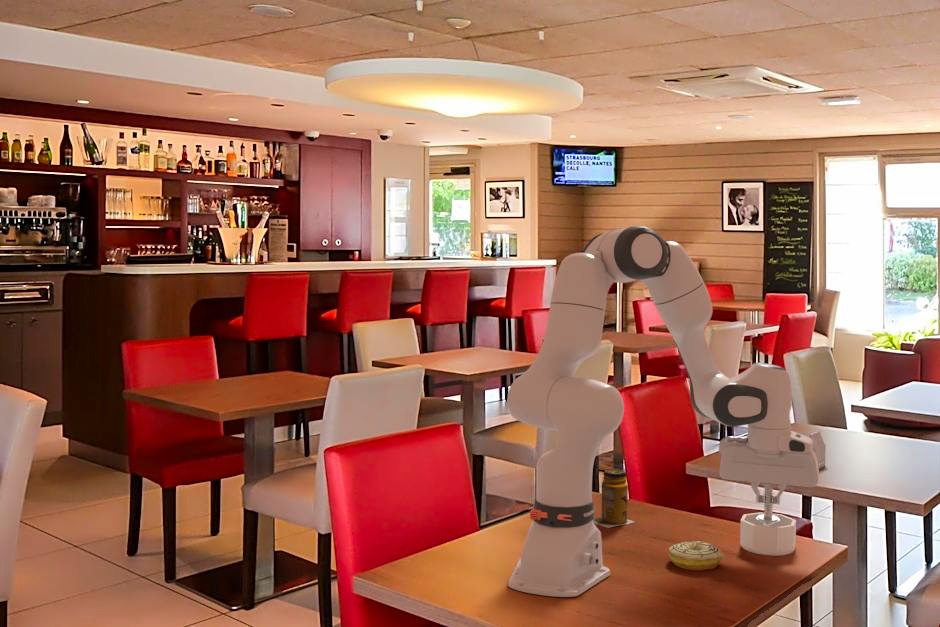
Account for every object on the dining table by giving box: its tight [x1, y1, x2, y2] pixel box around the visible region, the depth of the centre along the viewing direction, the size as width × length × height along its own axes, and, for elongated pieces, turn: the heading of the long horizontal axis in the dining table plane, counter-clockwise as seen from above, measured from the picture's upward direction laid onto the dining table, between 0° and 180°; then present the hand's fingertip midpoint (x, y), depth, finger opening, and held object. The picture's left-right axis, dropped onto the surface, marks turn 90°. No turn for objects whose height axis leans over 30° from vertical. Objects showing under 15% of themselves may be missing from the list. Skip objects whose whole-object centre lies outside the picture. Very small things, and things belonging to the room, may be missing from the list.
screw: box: [756, 483, 780, 527], centre depth 205 cm, size 13×5×5 cm
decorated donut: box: [668, 540, 724, 572], centre depth 195 cm, size 10×11×4 cm
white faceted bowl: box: [739, 511, 797, 557], centre depth 205 cm, size 11×11×6 cm
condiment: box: [593, 468, 635, 529], centre depth 225 cm, size 7×8×12 cm
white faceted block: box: [808, 430, 826, 469], centre depth 278 cm, size 4×7×10 cm, turn 139°
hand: (768, 502), depth 205 cm, fingers closed on screw, 2 cm apart
